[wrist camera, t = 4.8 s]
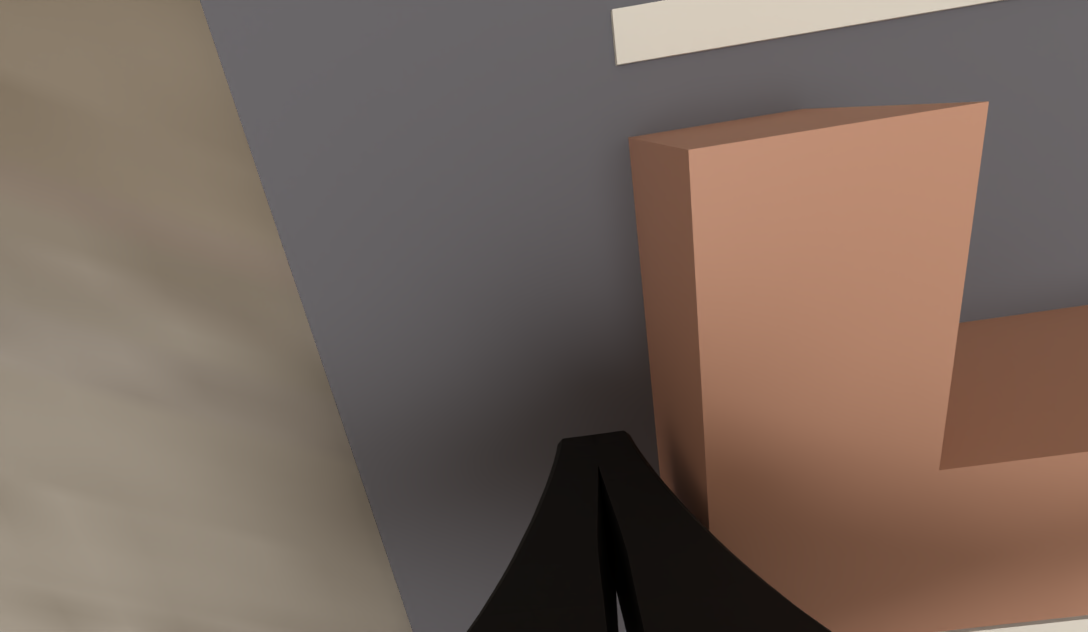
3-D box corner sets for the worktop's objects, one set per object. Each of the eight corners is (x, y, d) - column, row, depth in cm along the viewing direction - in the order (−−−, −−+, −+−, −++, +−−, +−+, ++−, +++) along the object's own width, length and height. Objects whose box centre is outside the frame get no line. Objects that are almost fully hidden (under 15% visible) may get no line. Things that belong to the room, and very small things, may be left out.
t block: (1124, 576, 13) (1366, 766, 9) (674, 627, 13) (725, 826, 10) (1296, 28, 9) (1885, -44, 5) (628, 137, 9) (687, 150, 5)
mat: (1165, 662, 14) (1190, 684, 14) (455, 735, 15) (451, 758, 15) (1540, -316, 7) (1622, -352, 7) (193, -61, 8) (167, -73, 8)
